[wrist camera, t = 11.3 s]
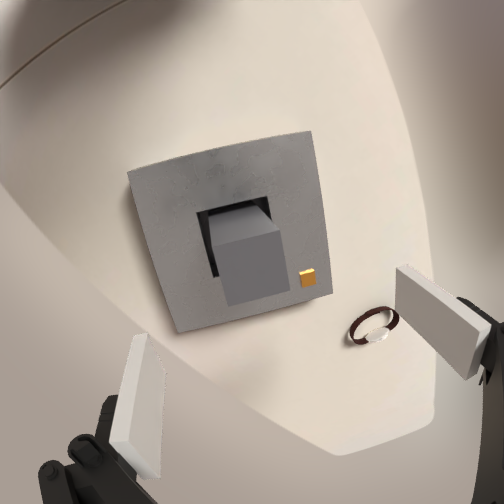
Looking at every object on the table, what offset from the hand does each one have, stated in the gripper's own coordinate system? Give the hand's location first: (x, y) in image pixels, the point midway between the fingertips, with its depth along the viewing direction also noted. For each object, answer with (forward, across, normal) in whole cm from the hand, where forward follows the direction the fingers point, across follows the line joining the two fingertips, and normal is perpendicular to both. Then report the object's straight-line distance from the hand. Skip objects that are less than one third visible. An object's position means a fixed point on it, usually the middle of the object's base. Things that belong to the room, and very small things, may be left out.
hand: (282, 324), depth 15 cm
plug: (+20, 0, -1) cm, 21 cm away
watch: (+21, +16, -19) cm, 32 cm away
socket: (+21, 0, -1) cm, 21 cm away
